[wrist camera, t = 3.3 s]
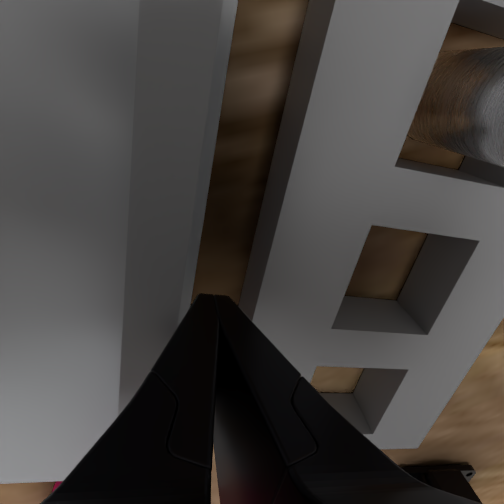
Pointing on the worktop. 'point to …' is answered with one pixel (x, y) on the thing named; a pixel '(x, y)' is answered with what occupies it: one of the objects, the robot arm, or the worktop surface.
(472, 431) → the worktop surface
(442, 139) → the pin
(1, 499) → the worktop surface
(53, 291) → the cover
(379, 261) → the worktop surface
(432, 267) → the hole board
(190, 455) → the robot arm
